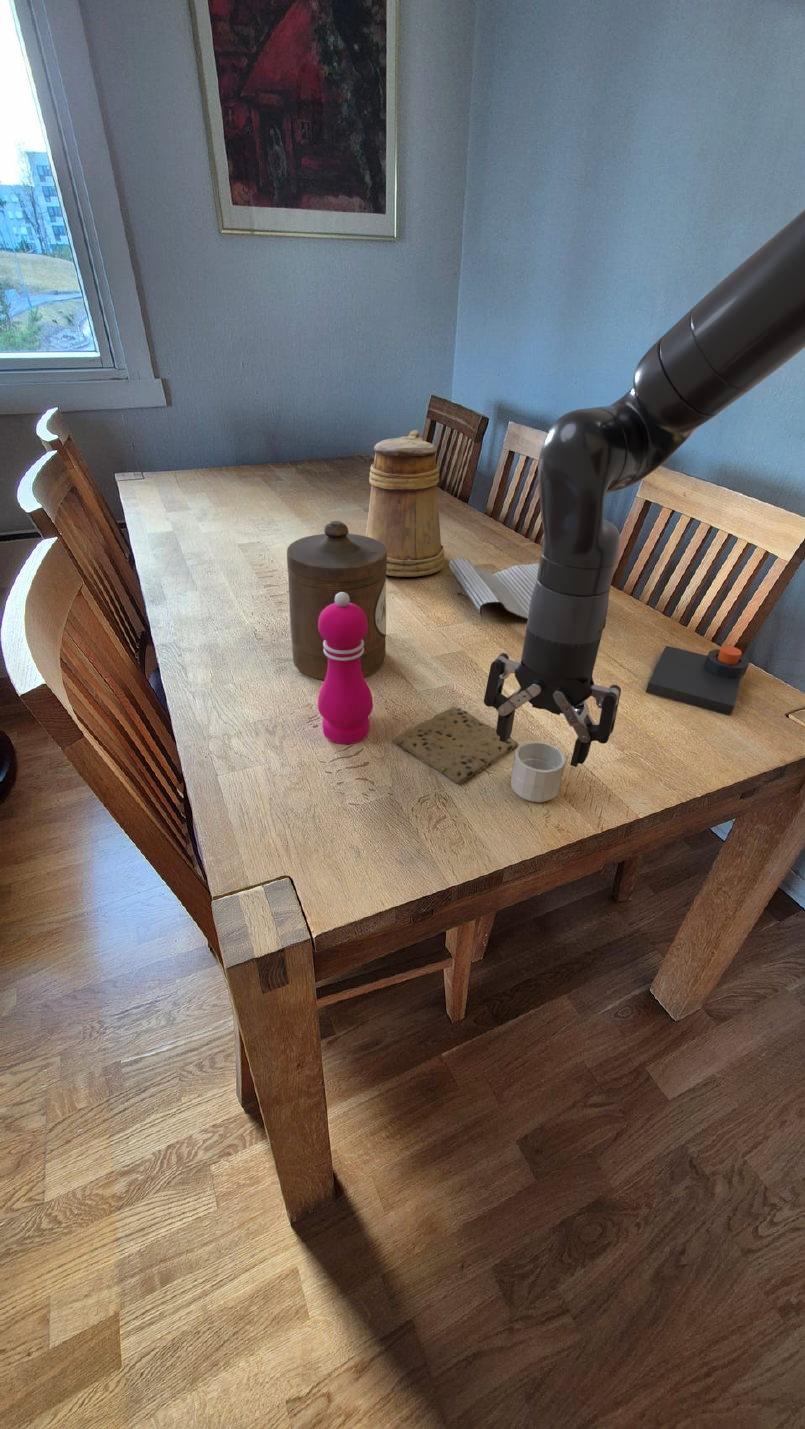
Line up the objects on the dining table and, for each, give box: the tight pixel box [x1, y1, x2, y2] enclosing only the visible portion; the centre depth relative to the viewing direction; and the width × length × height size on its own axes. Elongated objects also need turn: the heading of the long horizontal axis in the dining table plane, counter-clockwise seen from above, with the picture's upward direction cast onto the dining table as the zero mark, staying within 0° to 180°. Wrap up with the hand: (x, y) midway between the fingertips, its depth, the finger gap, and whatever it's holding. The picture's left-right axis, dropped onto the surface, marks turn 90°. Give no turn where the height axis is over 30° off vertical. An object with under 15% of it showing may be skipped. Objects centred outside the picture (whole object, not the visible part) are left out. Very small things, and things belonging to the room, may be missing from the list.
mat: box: [448, 556, 539, 624], centre depth 122 cm, size 23×24×5 cm
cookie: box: [393, 706, 519, 785], centre depth 82 cm, size 12×12×1 cm
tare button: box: [718, 645, 743, 664], centre depth 97 cm, size 3×3×2 cm
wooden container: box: [286, 520, 387, 681], centre depth 95 cm, size 15×15×22 cm
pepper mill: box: [317, 592, 374, 745], centre depth 79 cm, size 7×7×20 cm
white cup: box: [509, 740, 567, 803], centre depth 74 cm, size 6×6×5 cm
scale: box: [645, 645, 750, 716], centre depth 96 cm, size 12×14×4 cm
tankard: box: [365, 429, 445, 578], centre depth 131 cm, size 18×24×25 cm
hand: (539, 750), depth 72 cm, fingers open, 8 cm apart
